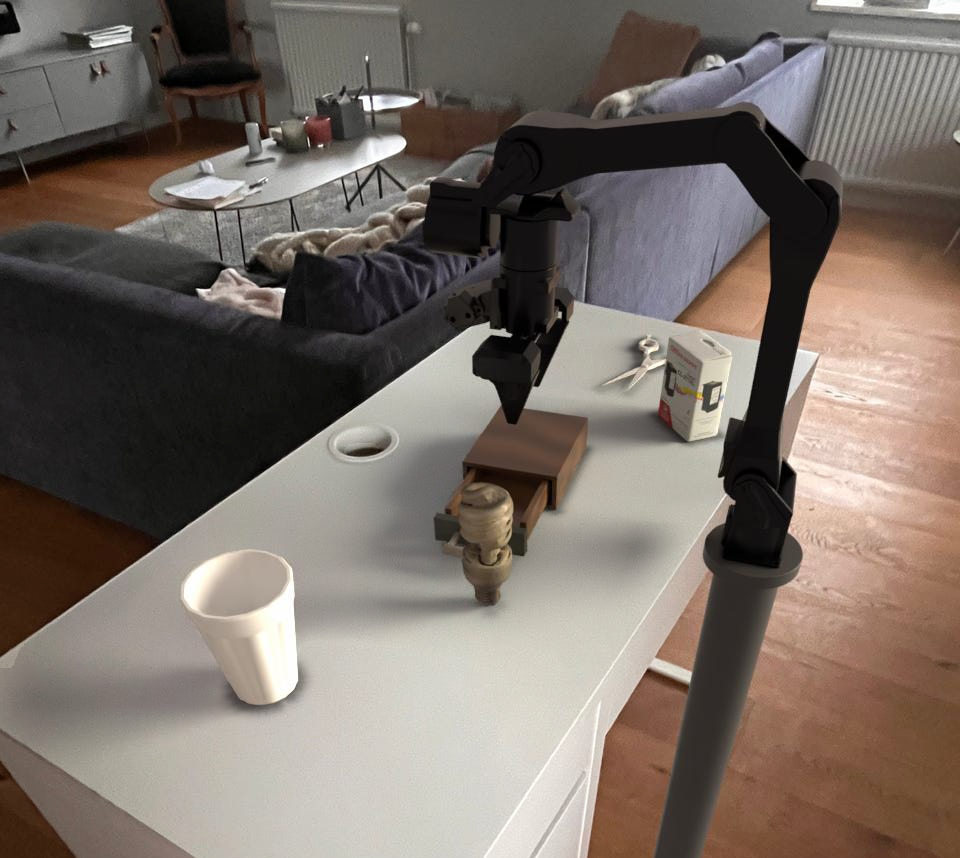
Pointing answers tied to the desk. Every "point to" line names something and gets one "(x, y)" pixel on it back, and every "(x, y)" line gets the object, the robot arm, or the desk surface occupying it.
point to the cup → (246, 621)
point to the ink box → (694, 385)
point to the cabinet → (532, 448)
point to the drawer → (526, 512)
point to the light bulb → (486, 538)
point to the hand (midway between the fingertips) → (523, 404)
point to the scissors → (646, 363)
